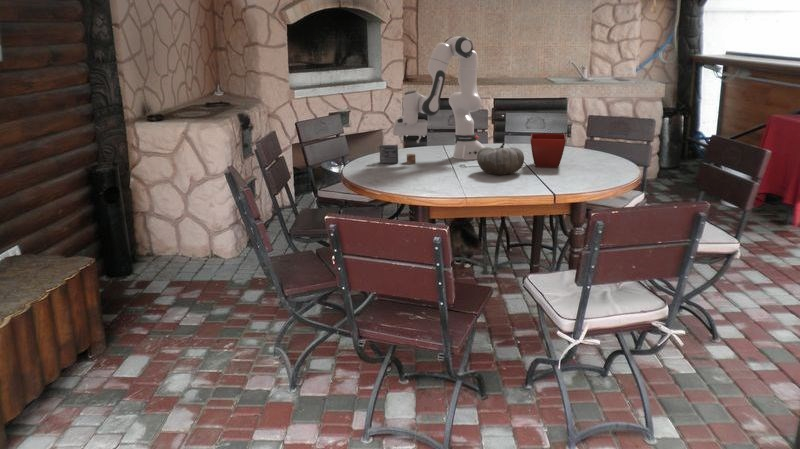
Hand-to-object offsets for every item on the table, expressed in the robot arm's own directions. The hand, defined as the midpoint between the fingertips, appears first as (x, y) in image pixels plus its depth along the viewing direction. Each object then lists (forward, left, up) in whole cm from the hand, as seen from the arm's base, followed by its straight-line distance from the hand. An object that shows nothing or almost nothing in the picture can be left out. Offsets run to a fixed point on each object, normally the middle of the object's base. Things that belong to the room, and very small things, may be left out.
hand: (409, 143), depth 407 cm
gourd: (-48, +34, -12) cm, 60 cm away
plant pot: (-78, +16, -12) cm, 80 cm away
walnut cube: (-1, 0, -12) cm, 12 cm away
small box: (+12, -1, -12) cm, 17 cm away
